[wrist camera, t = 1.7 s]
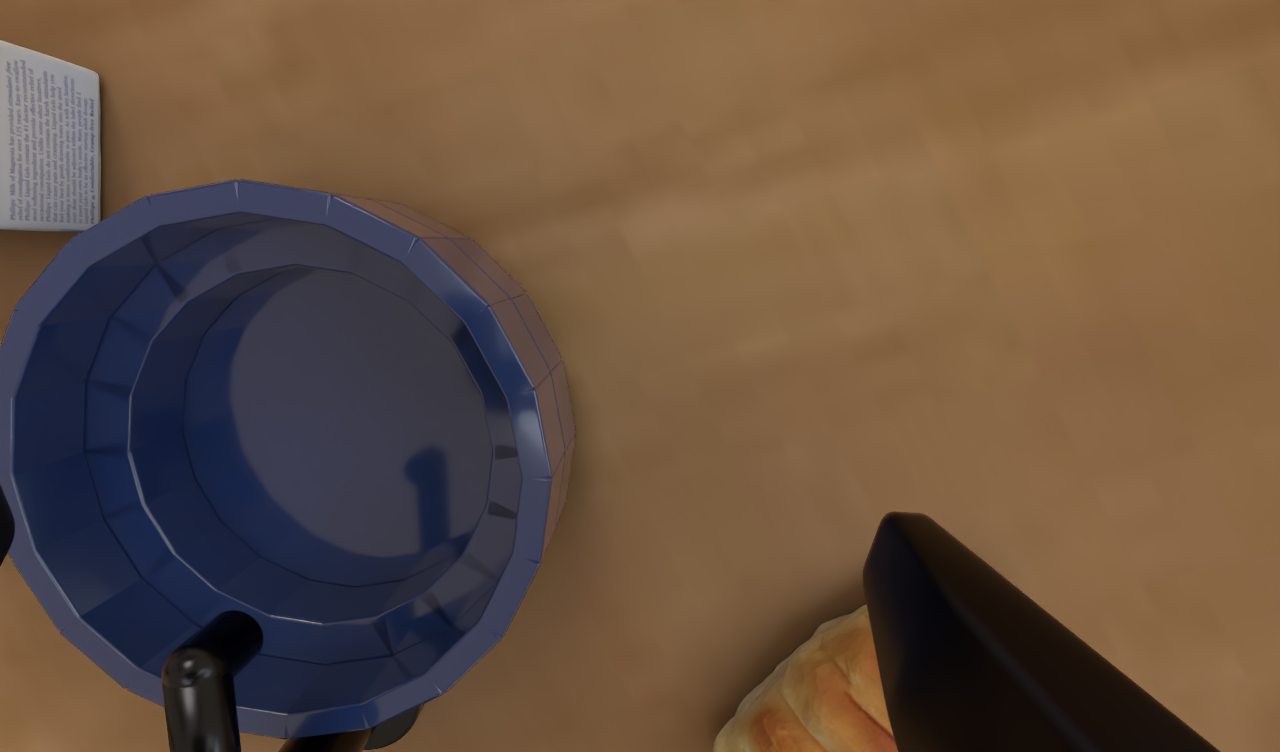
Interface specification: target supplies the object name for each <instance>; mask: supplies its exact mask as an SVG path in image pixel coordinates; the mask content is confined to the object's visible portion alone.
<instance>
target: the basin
mask: <svg viewBox="0 0 1280 752" xmlns="http://www.w3.org/2000/svg"><path fill="white" fill-rule="evenodd" d="M561 359H562V358H561V355H560V353H559V352H558V350H557V348H556V346H555V344H554V342H553V340H552V339H551V337H550V335H549V333H548V331H547V329H546V327H545V325H544V324H543V322H542V320H541V318H540V316H539V314H538V312H537V311H536V309H535V307H534V305H533V303H532V301H531V299H530V298H529V296H528V295H527V294H526V291H525V290H524V289H523V288H522V287H521V286H520V285H519V284H518V283H517V282H516V281H515V280H514V279H513V278H512V277H511V276H509V275H508V274H507V273H506V272H505V271H504V270H503V269H502V268H501V267H500V266H499V265H498V264H497V263H496V262H495V261H494V260H493V259H492V258H491V257H490V256H489V255H488V254H487V253H486V252H485V251H484V250H483V249H482V248H481V247H480V246H479V245H478V244H477V243H476V242H475V241H474V240H471V238H469V237H467V236H465V235H463V234H461V233H459V232H457V231H455V230H453V229H451V228H449V227H447V226H445V225H443V224H441V223H439V222H437V221H435V220H433V219H431V218H429V217H428V216H426V215H424V214H422V213H420V212H418V211H416V210H414V209H412V208H410V207H408V206H406V205H402V204H399V203H393V202H387V201H380V200H374V199H367V198H361V197H354V196H348V195H341V194H335V193H328V192H322V191H315V190H309V189H302V188H296V187H289V186H283V185H276V184H269V183H263V182H256V181H250V180H243V179H241V180H229V181H224V182H218V183H212V184H207V185H201V186H196V187H190V188H185V189H179V190H174V191H168V192H163V193H157V194H151V195H150V196H144V197H142V198H141V199H139V200H137V201H135V202H134V203H132V204H130V205H128V206H127V207H125V208H123V209H122V210H120V211H118V212H116V213H115V214H113V215H111V216H110V217H108V218H106V219H104V220H103V221H101V222H99V223H97V224H96V225H94V226H92V227H91V228H89V229H87V230H85V231H84V232H82V233H80V234H79V235H77V236H75V237H73V238H72V239H70V241H69V242H67V243H66V244H65V246H64V247H63V248H62V249H61V251H60V252H59V253H58V254H57V255H56V257H55V258H54V259H53V260H52V261H51V263H50V264H49V265H48V266H47V268H46V269H45V270H44V271H43V272H42V274H41V275H40V276H39V277H38V279H37V280H36V281H35V282H34V283H33V285H32V286H31V287H30V288H29V289H28V291H27V292H26V293H25V294H24V296H23V297H22V298H21V299H20V300H19V302H18V303H17V304H16V305H15V309H14V310H13V312H12V315H11V318H10V321H9V323H8V326H7V329H6V332H5V335H4V338H3V341H2V343H1V346H0V484H1V487H2V489H3V491H4V494H5V496H6V499H7V501H8V504H9V506H10V509H11V511H12V514H13V516H14V520H15V535H14V539H13V542H12V544H11V547H10V549H9V551H8V554H9V557H10V558H13V559H12V562H13V564H14V565H15V567H16V568H17V570H18V571H19V573H20V574H21V576H22V577H23V579H24V580H25V582H26V583H27V585H28V586H29V588H30V589H31V591H32V592H33V594H34V595H35V597H36V598H37V600H38V601H39V603H40V604H41V606H42V607H43V609H44V610H45V612H46V613H47V615H48V616H49V618H50V619H51V621H52V622H53V624H54V625H55V627H56V628H57V630H59V631H61V632H60V634H61V635H62V636H63V637H65V638H66V639H67V640H68V641H69V642H70V643H72V644H73V645H74V646H75V647H76V648H77V649H79V650H80V651H81V652H82V653H83V654H84V655H86V656H87V657H88V658H89V659H90V660H91V661H93V662H94V663H95V664H96V665H97V666H98V667H100V668H101V669H102V670H103V671H104V672H105V673H107V674H108V675H109V676H110V677H111V678H112V679H114V680H115V681H116V682H117V683H118V684H119V685H121V686H122V687H123V688H125V689H126V688H127V690H128V691H130V692H132V693H134V694H136V695H139V696H141V697H143V698H145V699H147V700H149V701H151V702H153V703H156V704H158V705H160V706H162V707H164V708H165V705H164V697H163V688H162V670H163V666H164V664H165V662H166V660H167V658H168V657H169V655H170V654H171V653H172V652H173V651H174V650H175V649H176V648H177V647H179V646H180V645H181V644H182V643H183V642H185V641H186V640H187V639H188V638H190V637H191V636H192V635H193V634H195V633H196V632H197V631H198V630H199V629H201V628H202V627H203V626H204V625H206V624H207V623H208V622H209V621H210V620H212V619H213V618H214V617H215V616H217V615H218V614H220V613H222V612H225V611H229V610H238V611H242V612H245V613H247V614H249V615H251V616H252V617H253V618H254V619H255V620H256V621H257V622H258V623H259V625H260V627H261V629H262V632H263V645H262V648H261V651H260V652H259V654H258V655H257V656H256V657H255V658H254V659H253V660H252V661H251V662H250V663H249V664H248V665H247V666H246V667H245V668H244V669H243V670H242V671H241V672H240V673H239V674H238V675H237V676H236V677H235V678H234V686H235V696H236V706H237V716H238V726H239V732H243V733H249V734H255V735H261V736H267V737H273V738H280V739H288V738H289V739H296V738H303V737H311V736H319V735H326V734H334V733H342V732H349V731H357V730H365V729H368V728H370V727H371V728H372V727H375V726H377V725H379V724H381V723H383V722H385V721H387V720H390V719H392V718H394V717H396V716H398V715H400V714H402V713H404V712H407V711H409V710H411V709H413V708H415V707H417V706H419V705H422V704H424V703H426V702H428V701H430V700H432V699H434V698H436V697H439V696H441V695H442V694H443V693H445V692H447V691H448V690H449V689H450V688H451V687H452V686H453V685H454V684H455V683H456V682H458V681H459V680H460V679H461V678H462V677H463V676H464V675H465V674H466V673H467V672H468V671H469V670H470V669H471V668H472V667H473V666H474V665H475V664H476V663H477V662H478V661H479V660H480V659H481V658H482V657H484V656H485V655H486V654H487V653H488V652H489V651H490V650H491V649H492V648H493V647H494V646H495V645H496V644H497V643H498V642H499V641H500V640H501V639H502V637H503V636H504V635H505V633H506V631H507V630H508V628H509V626H510V624H511V622H512V620H513V618H514V616H515V614H516V612H517V610H518V608H519V606H520V604H521V602H522V600H523V598H524V596H525V594H526V592H527V590H528V588H529V586H530V584H531V582H532V580H533V578H534V576H535V574H536V572H537V570H538V568H539V566H540V564H541V562H542V559H543V557H544V554H545V552H546V549H547V547H548V545H549V542H550V540H551V537H552V535H553V532H554V530H555V527H556V525H557V523H558V520H559V518H560V515H561V513H562V510H563V508H564V505H565V501H566V499H567V493H568V486H569V478H570V471H571V464H572V457H573V450H574V443H575V436H576V434H575V430H576V428H575V423H574V417H573V412H572V406H571V401H570V395H569V390H568V385H567V379H566V374H565V368H564V363H563V361H562V360H561Z"/></svg>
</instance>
